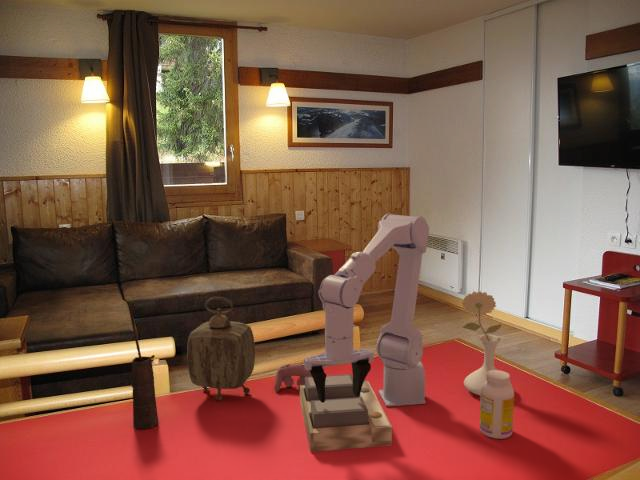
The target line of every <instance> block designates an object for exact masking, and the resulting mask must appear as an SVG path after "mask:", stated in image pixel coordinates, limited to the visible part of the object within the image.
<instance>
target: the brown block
mask: <svg viewBox="0 0 640 480" xmlns="http://www.w3.org/2000/svg"><path fill="white" fill-rule="evenodd" d="M311 419H312V423H313V427H314V429H315V428H329V427H342V426H356V425H368V409H367V407H366V405H365V403H364V401H363V398H362V397H356V398H342V399H327V400H325V402H323V403H322V402H321V401H320V400H312V401H311Z"/></svg>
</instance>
